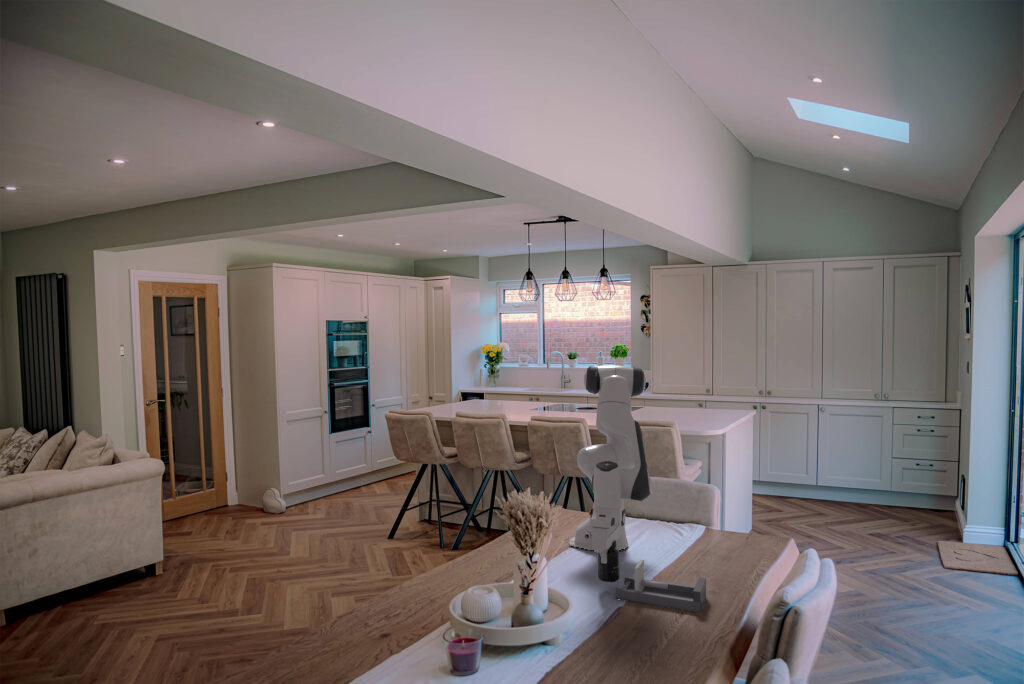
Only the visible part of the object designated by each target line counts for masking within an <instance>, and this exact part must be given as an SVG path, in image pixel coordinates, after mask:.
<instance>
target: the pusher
mask: <svg viewBox="0 0 1024 684" xmlns="http://www.w3.org/2000/svg"><path fill="white" fill-rule="evenodd" d="M634 578H635V591H640V592H642V591H643V590H644V586H649V587H655V588H662V589H668V584H666V583H659V582H653V581H654V580H653V581H646V580H647V579H646V580H644V579H645V560H644V559H640V560H639V561H638V563H637V564H636V565H635V567H634Z"/></svg>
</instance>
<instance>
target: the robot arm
mask: <svg viewBox="0 0 1024 684" xmlns="http://www.w3.org/2000/svg"><path fill="white" fill-rule="evenodd" d="M646 383H647V379H646V376H645V373H644V371H643V369H642V368H639V367H636V366H633V367H632V366H625V365H619V364H615V365H598V364H595V365H594V364H593V365H590V366H588V368H586V371H585V372H584V375H583V384H584V387H585V390H586V391H587V392H588V393H589V394H593V395H598V397H597V404H596V418H595V419H596V422H595V426H596V429H597V430H598V431H599V432H600V433H601V434H602V435H604V436H606V443H601V444H599V443H598V444H591V445H588V446H585V447H583V448H581V449H580V450H579V451H578V453H577V457H576V463H577V466H578V468H579V470H580V471H581V472H582V473H583V474H585V475H586V476H587V478H588V479H589V481H590V482H591V490H592V493H593V494H594V495H593V496H594V497H593V500H594V501H593V506H592V507H591V508H590V509H589V511H588V515H589V517H588V518H587V519H585V520H584V521H582V522H581V523H580V524H579V525H577V527H576V530H575V534H574V536H573V537H571V538H570V539H569V543H568V544H569V547H571V546H575V547H574V548H576V547H579V548H578V549H581V548H584V549H583V550H585V549H589V550H588V551H590V550H594V551H593V552H594V553H596V554H598V553H600V556H601V563H605V564H606V563H607V562H608V557H607V550H608V549H609V548H610V547H611V546H612V543H613V542H614V541H615V540H616V549H617V550H621V549H624V548H626V547H628V545H629V542H628V538H627V534H626V532H627V531H626V528H625V527H626V526H625V525H626V509H625V504H624V503H625V499H626V500H632V501H637V502H643V501H644V500H646V499H647V498H648V497H649V496H651V494H652V484H653V483H652V478H651V476H650V473H649V470H648V463H647V455H646V451H645V444H644V438H643V433H642V432H643V431H642V429H641V425H640V423H639V421H637V420H635V419H634V417H633V414H632V408H631V407H632V405H631V404H632V403H631V402H632V401H631V399H632V398H633V397H637V396H640V395H641V394H642V393H644V390H645V387H646ZM628 548H629V547H628ZM624 550H625V549H624ZM621 551H622V550H621Z"/></svg>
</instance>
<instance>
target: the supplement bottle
mask: <svg viewBox="0 0 1024 684" xmlns="http://www.w3.org/2000/svg"><path fill="white" fill-rule="evenodd" d="M607 557H608V562H607V563H606V564H605V563H601V556H600V553H597V578H598V580H599V581H601V582H604V583H605V582H606V583H615V582H618V581H619V580H620V551H618V550H617V549H616V540H615V541H614V542H613V543H612V546H611V547H610V548H609V549H608V550H607Z"/></svg>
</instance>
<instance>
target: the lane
mask: <svg viewBox="0 0 1024 684" xmlns="http://www.w3.org/2000/svg"><path fill="white" fill-rule="evenodd" d="M623 578H624V579H623V581H624V585H623V586H622V588H619V587H616V588H615V600H617V599H620V600H619V601H624V600H625V602H630V601H631V602H632V603H636V602H637V604H642V603H643V604H644V605H648V604H649V606H656V607H661V606H662V608H667V607H670V608H669V609H673V608H675V609H674V610H679V609H682V611H686V610H689V611H688V612H692V611H694V612H693V613H698V614H702V612H703V608H704V605H705V602H706V600H707V578H705V577H700V576H699V577H698V579H697V581H696V583H695V585H686V584H680V583H679V584H678V583H673V582H665V581H659V580H653V579H646V578H644V580H646V581H653V582H659V583H666V584H668V589H662V588H655V587H649V586H644V590H643V591H642V592H640V591H635V577H631V576H630V577H629V576H624V577H623ZM643 604H642V605H643Z"/></svg>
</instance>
